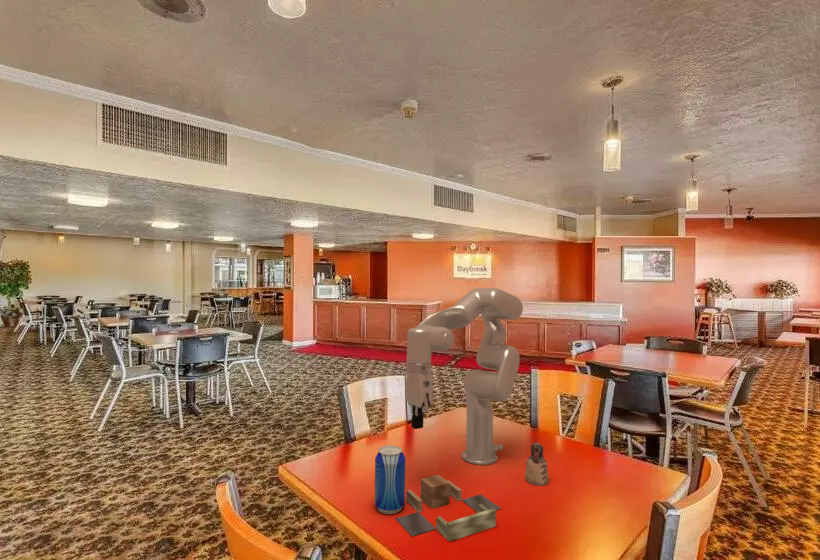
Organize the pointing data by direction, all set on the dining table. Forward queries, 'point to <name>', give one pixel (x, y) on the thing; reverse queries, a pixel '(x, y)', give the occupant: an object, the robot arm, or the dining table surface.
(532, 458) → the figurine
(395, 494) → the beer can
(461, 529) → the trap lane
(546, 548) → the dining table surface
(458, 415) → the dining table surface
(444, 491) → the walnut block
